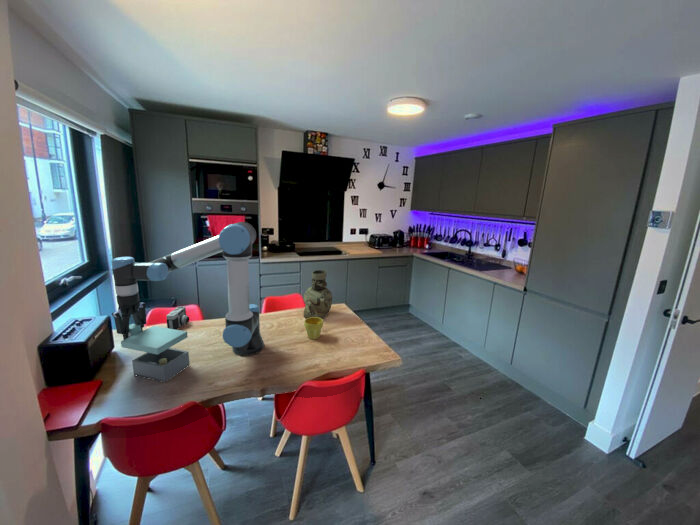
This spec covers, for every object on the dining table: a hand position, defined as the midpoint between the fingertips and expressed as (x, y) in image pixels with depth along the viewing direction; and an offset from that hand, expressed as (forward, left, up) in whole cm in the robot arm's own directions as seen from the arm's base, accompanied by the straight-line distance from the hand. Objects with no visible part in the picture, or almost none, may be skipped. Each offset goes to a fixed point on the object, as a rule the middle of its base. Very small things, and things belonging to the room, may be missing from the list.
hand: (134, 343), depth 126 cm
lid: (-9, 0, +2) cm, 10 cm away
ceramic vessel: (-57, -78, -11) cm, 97 cm away
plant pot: (-65, -50, -11) cm, 83 cm away
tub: (-14, 0, -10) cm, 17 cm away
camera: (+13, -38, -11) cm, 41 cm away
